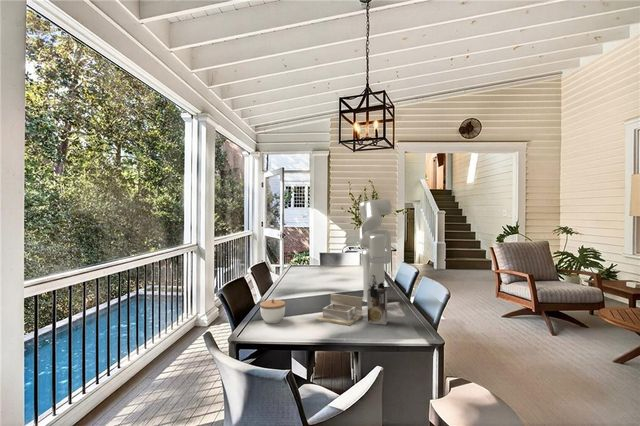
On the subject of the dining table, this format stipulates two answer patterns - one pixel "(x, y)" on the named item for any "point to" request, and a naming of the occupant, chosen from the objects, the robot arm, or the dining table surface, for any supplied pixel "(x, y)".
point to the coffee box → (377, 307)
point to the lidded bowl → (272, 310)
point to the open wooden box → (342, 310)
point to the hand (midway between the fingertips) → (377, 295)
